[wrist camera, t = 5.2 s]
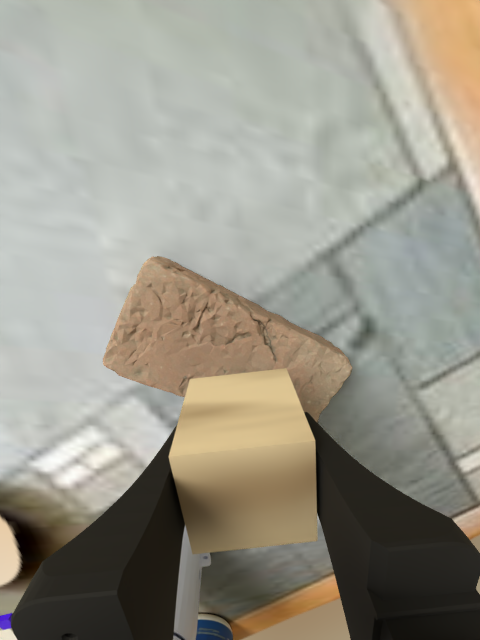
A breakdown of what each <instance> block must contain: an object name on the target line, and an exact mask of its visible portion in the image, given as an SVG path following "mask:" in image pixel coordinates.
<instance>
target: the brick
mask: <svg viewBox="0 0 480 640" xmlns="http://www.w3.org/2000/svg"><path fill="white" fill-rule="evenodd" d="M103 364H104V366H106V367H107V368H109V369H111V370H113V371H115V372H116V373H117V374H118V375H119V376H122V377H125V378H127V379H130V380H134V381H136V382H139V383H142V384H144V385H148V386H151V387H154V388H158V389H161V390H164V391H167V392H172V393H174V394H175V395H178V396H182V397H185V395H186V392H187V388H188V384H189V381H190V379H194V378H203V377H212V376H221V375H231V374H240V373H249V372H258V371H267V370H276V369H285V368H286V369H287V371H288V374H289V376H290V379H291V381H292V384H293V386H294V389H295V391H296V394H297V396H298V399H299V401H300V404H301V406H302V409H303V411H304V412H308V413H309V414H310V415H311V416H312V417H313V418H314V420H315V421H316V422H317V421H318V419H319V414H320V413H321V412H322V410H324V409H325V408H326V407H327V405H328V404H329V401H330V399H331V398H332V397H333V396H334V395H335V394H336V393H337V392H338V391H339V389H340V388H341V387H342V385H343V383H344V382H345V380H346V379H347V378H348V377H349V376H350V374H351V371H352V366H351V364H350V362H349V359H348V358H347V357H346V356H345V355H344V353H343V352H342V351H341V350H340V349H339V348H337V347H335V346H333V345H332V343H331V342H329V341H327V340H325V339H324V338H323V337H321V336H319V335H316V334H314V333H312V332H310V331H308V330H305V329H302V328H300V327H298V326H296V325H294V324H292V323H290V322H289V321H287V320H285V319H284V318H283V317H281V316H280V315H277V314H274V313H271V312H268V311H266V310H265V309H263V308H262V307H260V306H259V305H257V304H255V303H253V302H251V301H249V300H247V299H245V298H243V297H242V296H239V295H237V294H235V293H234V292H232V291H230V290H228V289H226V288H224V287H222V286H221V285H217V284H216V283H214V282H212V281H210V280H208V279H206V278H204V277H202V276H200V275H198V274H196V273H194V272H192V271H190V270H188V269H186V268H184V267H182V266H180V265H179V264H178V263H176V262H173V261H171V260H169V259H167V258H164V257H159V256H157V257H151V258H150V259H148V260H147V261H146V262H145V263H144V264H143V266H142V268H141V270H140V272H139V274H138V276H137V281H136V284H135V285H134V286H133V287H131V289H130V292H129V294H128V296H127V298H126V301H125V303H124V305H123V308H122V310H121V313H120V315H119V317H118V320H117V323H116V325H115V328H114V330H113V332H112V335H111V338H110V341H109V343H108V345H107V348H106V353H105V355H104V358H103Z"/></svg>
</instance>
